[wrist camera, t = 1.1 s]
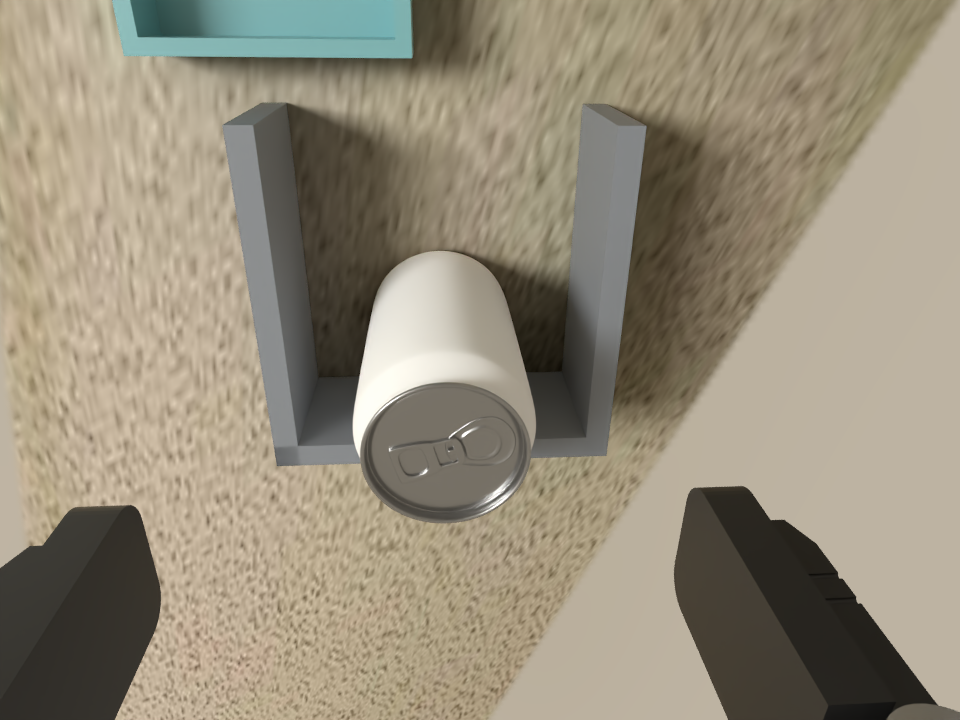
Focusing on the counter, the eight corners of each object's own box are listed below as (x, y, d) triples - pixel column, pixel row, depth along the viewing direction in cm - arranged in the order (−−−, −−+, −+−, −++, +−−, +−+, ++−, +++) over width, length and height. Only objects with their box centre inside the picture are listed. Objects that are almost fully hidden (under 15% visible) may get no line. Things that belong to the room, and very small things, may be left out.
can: (520, 350, 34) (562, 507, 23) (398, 383, 34) (384, 552, 24) (487, 230, 31) (518, 347, 20) (354, 268, 31) (315, 403, 21)
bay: (261, 102, 27) (222, 125, 22) (605, 104, 28) (646, 126, 23) (300, 394, 34) (277, 466, 29) (579, 387, 35) (606, 455, 30)
